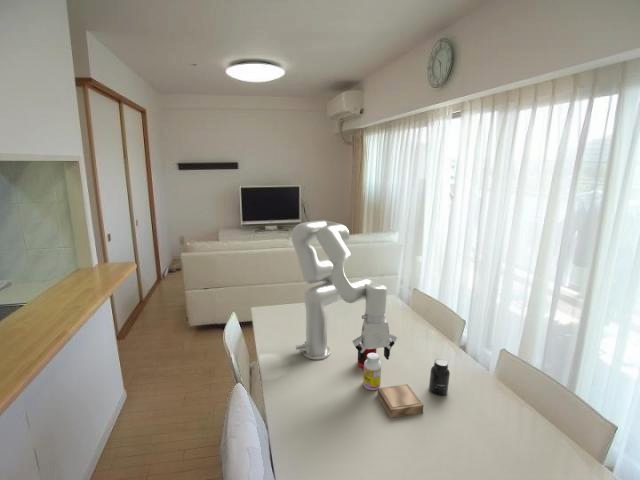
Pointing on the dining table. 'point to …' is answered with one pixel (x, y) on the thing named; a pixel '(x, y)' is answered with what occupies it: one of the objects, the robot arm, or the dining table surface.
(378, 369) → the supplement bottle
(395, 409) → the bronze plinth
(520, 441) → the dining table surface
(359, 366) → the canned food
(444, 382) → the supplement bottle
